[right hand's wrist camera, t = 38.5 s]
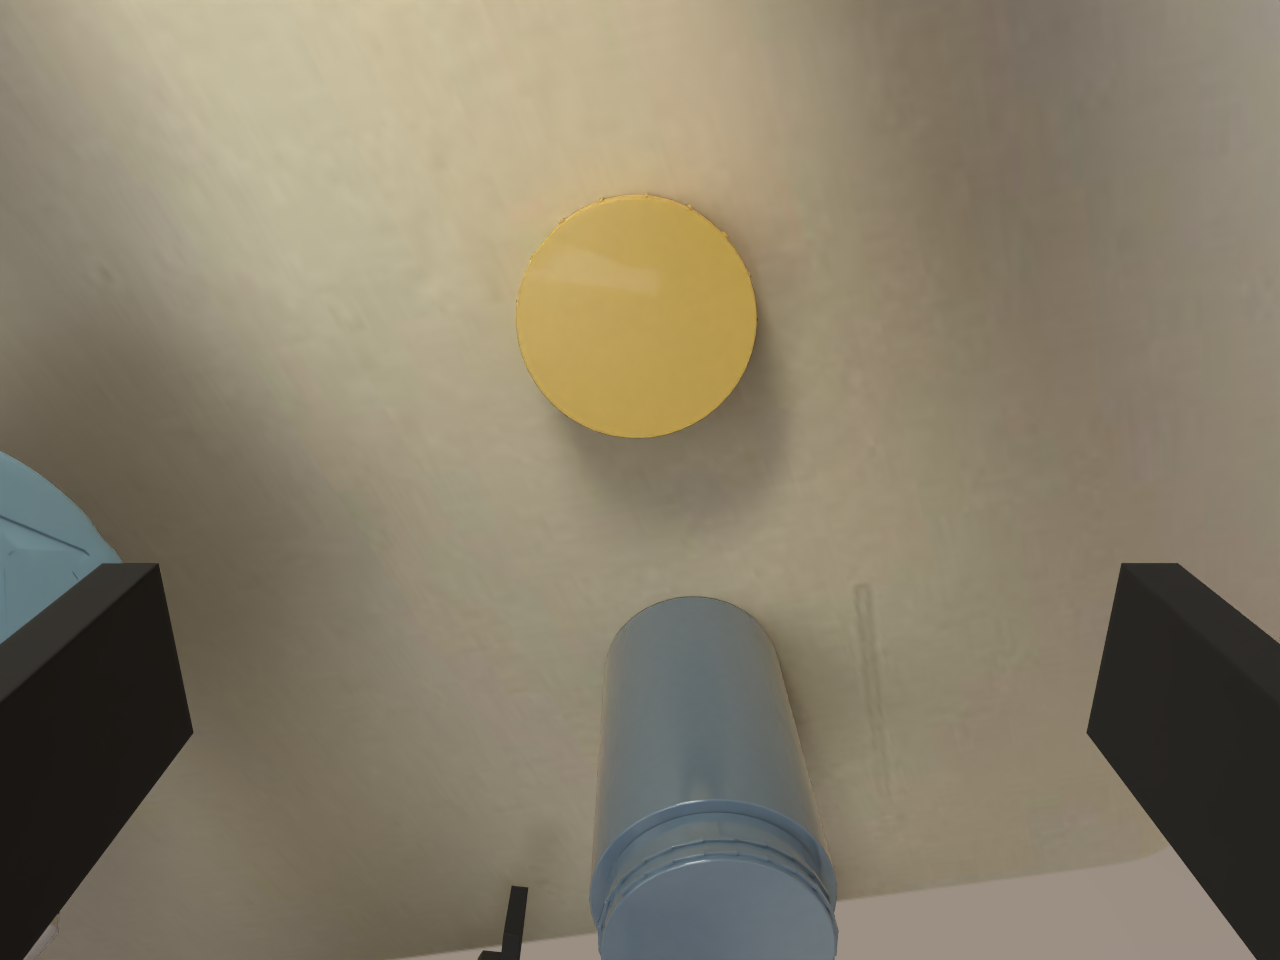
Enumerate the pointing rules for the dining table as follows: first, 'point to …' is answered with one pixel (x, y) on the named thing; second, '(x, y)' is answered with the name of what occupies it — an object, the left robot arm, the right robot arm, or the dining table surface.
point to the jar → (705, 798)
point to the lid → (636, 316)
